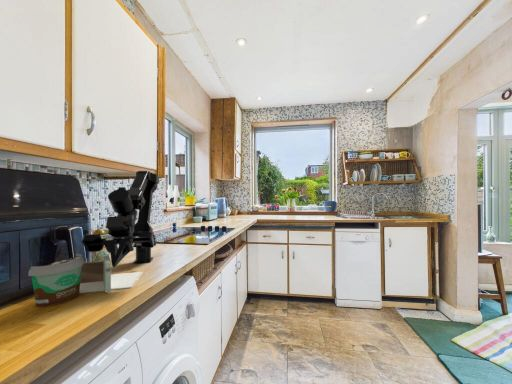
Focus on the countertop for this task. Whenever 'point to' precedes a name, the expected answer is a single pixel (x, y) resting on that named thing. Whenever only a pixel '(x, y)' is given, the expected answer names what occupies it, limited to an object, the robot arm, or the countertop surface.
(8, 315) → the countertop surface
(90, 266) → the fixed fence
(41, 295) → the food container
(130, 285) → the card
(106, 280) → the gate panel
